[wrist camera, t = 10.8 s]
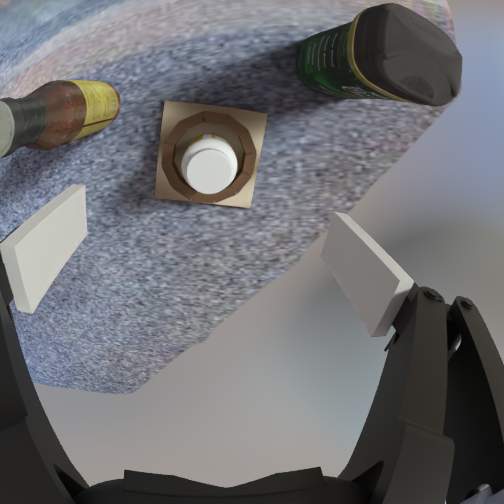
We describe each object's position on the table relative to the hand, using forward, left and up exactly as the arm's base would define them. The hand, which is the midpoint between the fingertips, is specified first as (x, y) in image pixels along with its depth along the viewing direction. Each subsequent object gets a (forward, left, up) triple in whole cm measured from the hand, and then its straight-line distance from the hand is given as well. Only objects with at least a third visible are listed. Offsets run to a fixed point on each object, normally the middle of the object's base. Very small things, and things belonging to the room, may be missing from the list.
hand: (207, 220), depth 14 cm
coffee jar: (-14, +13, -22) cm, 29 cm away
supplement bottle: (0, 0, -21) cm, 21 cm away
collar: (0, 0, -22) cm, 22 cm away
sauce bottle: (-5, -15, -22) cm, 27 cm away
